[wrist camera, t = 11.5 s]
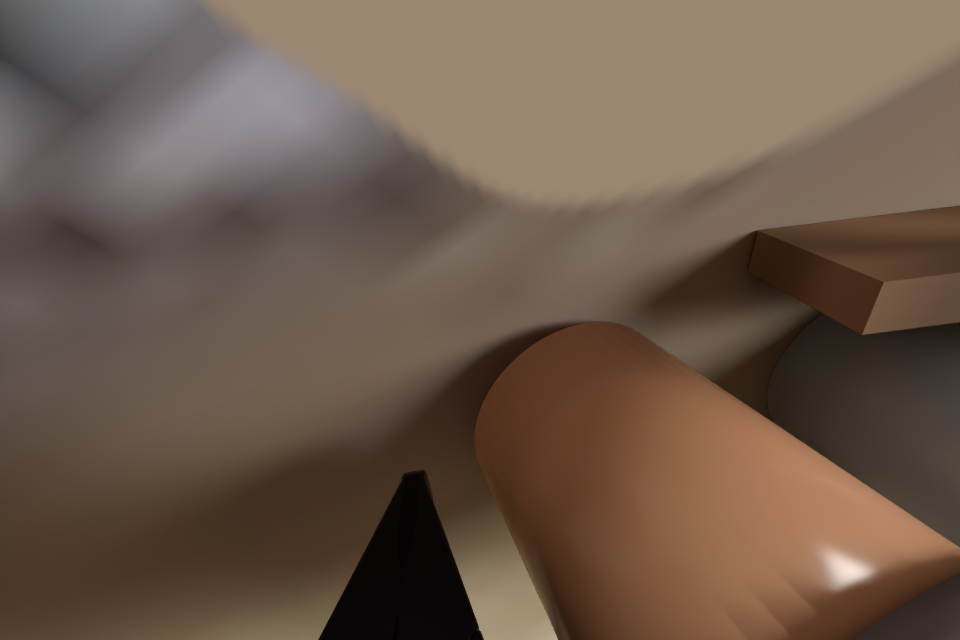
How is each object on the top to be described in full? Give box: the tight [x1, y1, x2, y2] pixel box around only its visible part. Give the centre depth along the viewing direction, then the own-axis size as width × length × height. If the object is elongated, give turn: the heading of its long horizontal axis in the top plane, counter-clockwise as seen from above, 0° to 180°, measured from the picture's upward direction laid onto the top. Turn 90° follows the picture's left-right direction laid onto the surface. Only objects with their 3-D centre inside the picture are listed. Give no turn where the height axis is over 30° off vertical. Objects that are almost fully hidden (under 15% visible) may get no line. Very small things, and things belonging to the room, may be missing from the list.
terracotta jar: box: [474, 322, 960, 640], centre depth 8 cm, size 6×6×7 cm
